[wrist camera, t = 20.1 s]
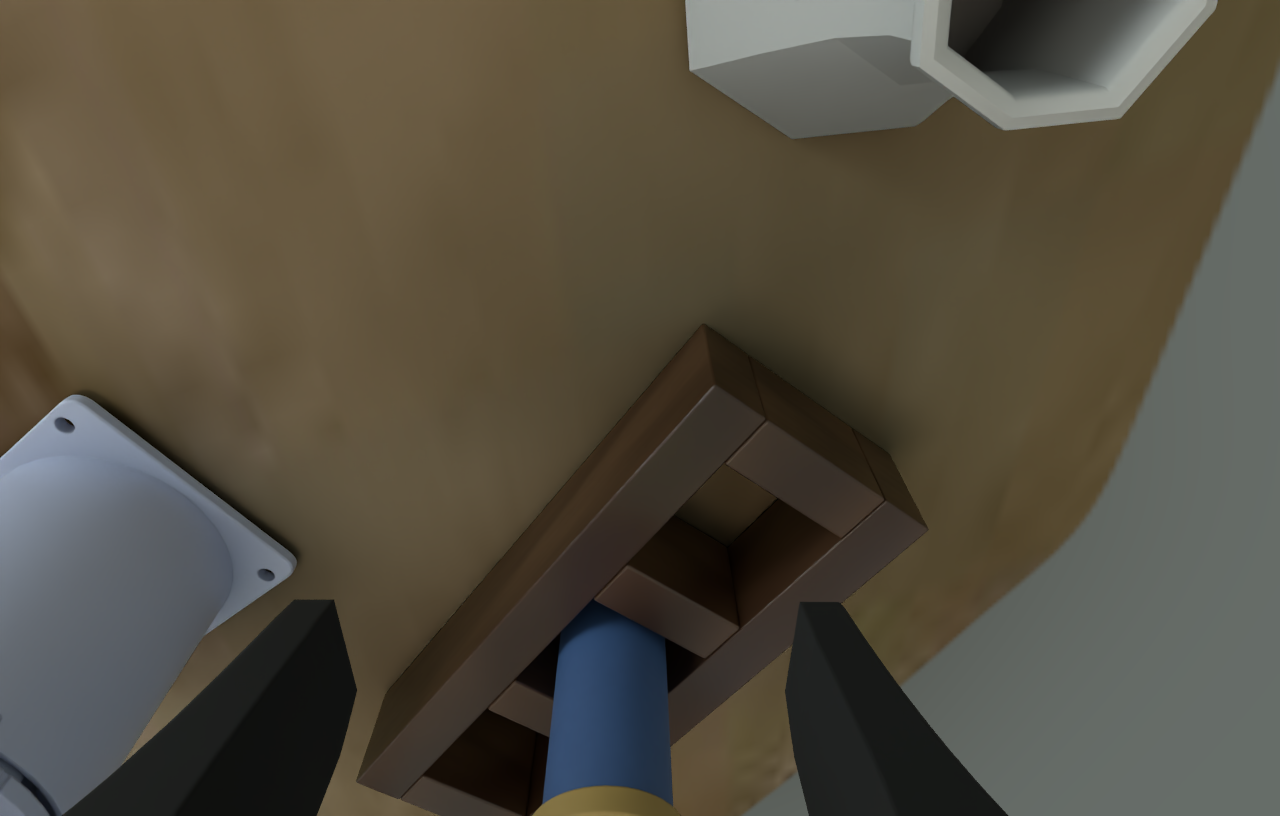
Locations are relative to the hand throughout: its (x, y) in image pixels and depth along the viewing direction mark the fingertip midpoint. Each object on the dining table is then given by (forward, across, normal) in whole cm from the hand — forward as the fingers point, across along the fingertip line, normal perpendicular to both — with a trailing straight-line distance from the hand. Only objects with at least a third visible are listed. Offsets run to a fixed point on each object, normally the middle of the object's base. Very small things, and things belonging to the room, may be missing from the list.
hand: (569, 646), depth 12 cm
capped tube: (+10, 0, +9) cm, 14 cm away
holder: (+10, 0, +9) cm, 14 cm away
